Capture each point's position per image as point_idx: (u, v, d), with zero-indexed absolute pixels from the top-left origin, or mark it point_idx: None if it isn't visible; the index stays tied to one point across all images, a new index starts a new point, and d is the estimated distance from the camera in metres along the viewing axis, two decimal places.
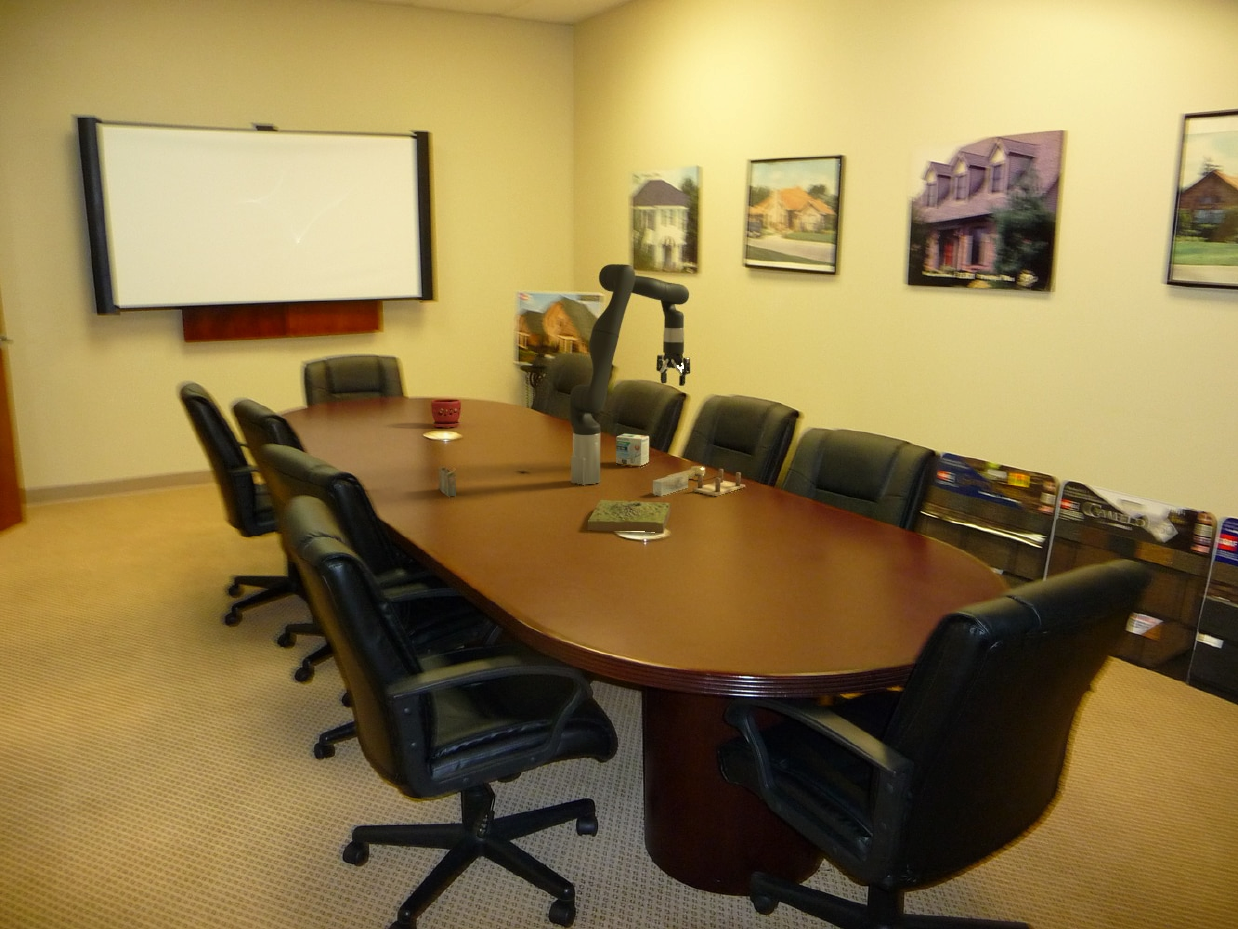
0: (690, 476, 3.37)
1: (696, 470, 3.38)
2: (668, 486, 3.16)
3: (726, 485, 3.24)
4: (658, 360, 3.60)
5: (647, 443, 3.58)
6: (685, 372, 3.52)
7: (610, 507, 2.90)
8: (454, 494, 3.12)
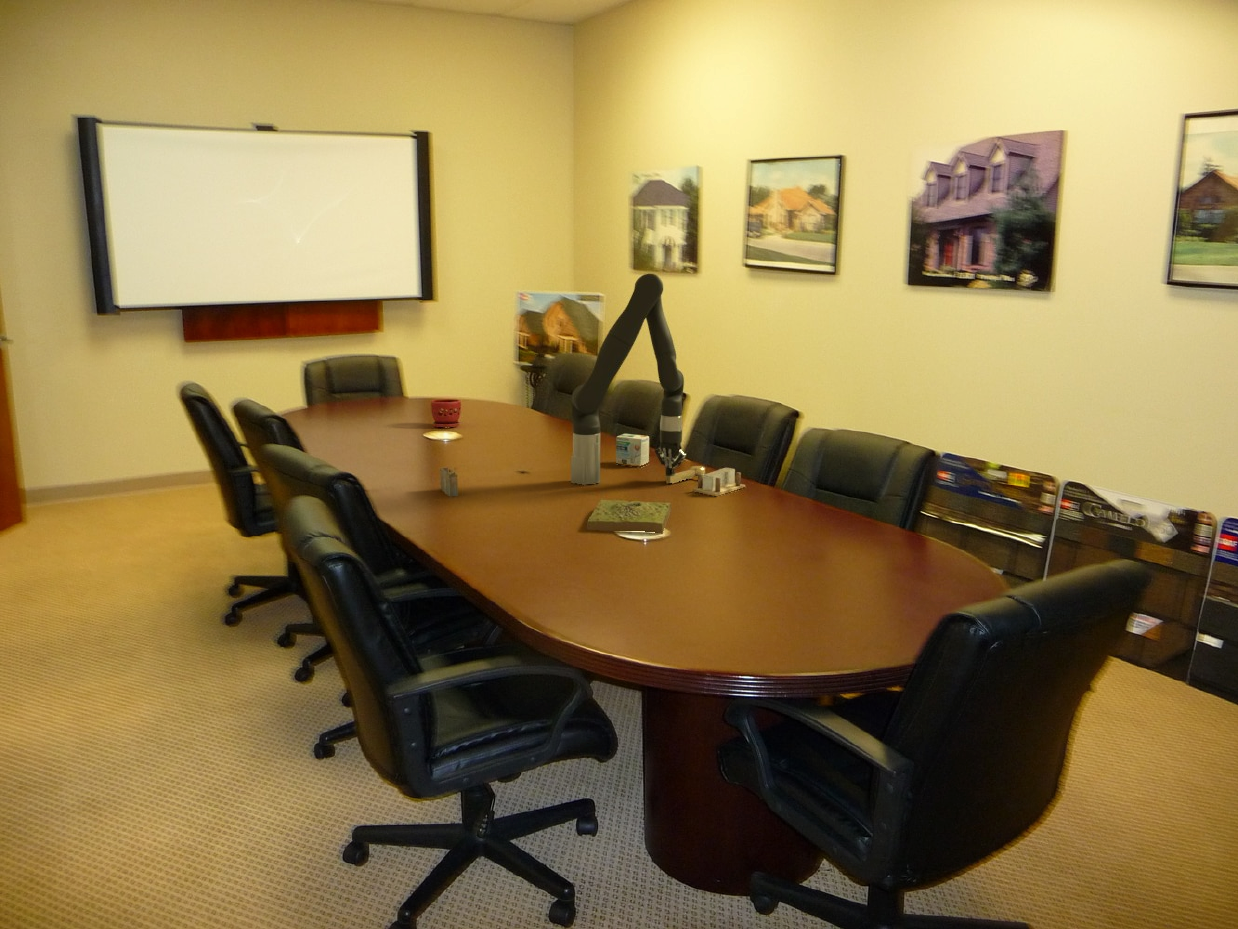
0: (690, 476, 3.37)
1: (696, 470, 3.38)
2: None
3: None
4: (658, 454, 3.35)
5: (647, 443, 3.58)
6: (674, 465, 3.30)
7: (610, 507, 2.90)
8: (456, 494, 3.12)
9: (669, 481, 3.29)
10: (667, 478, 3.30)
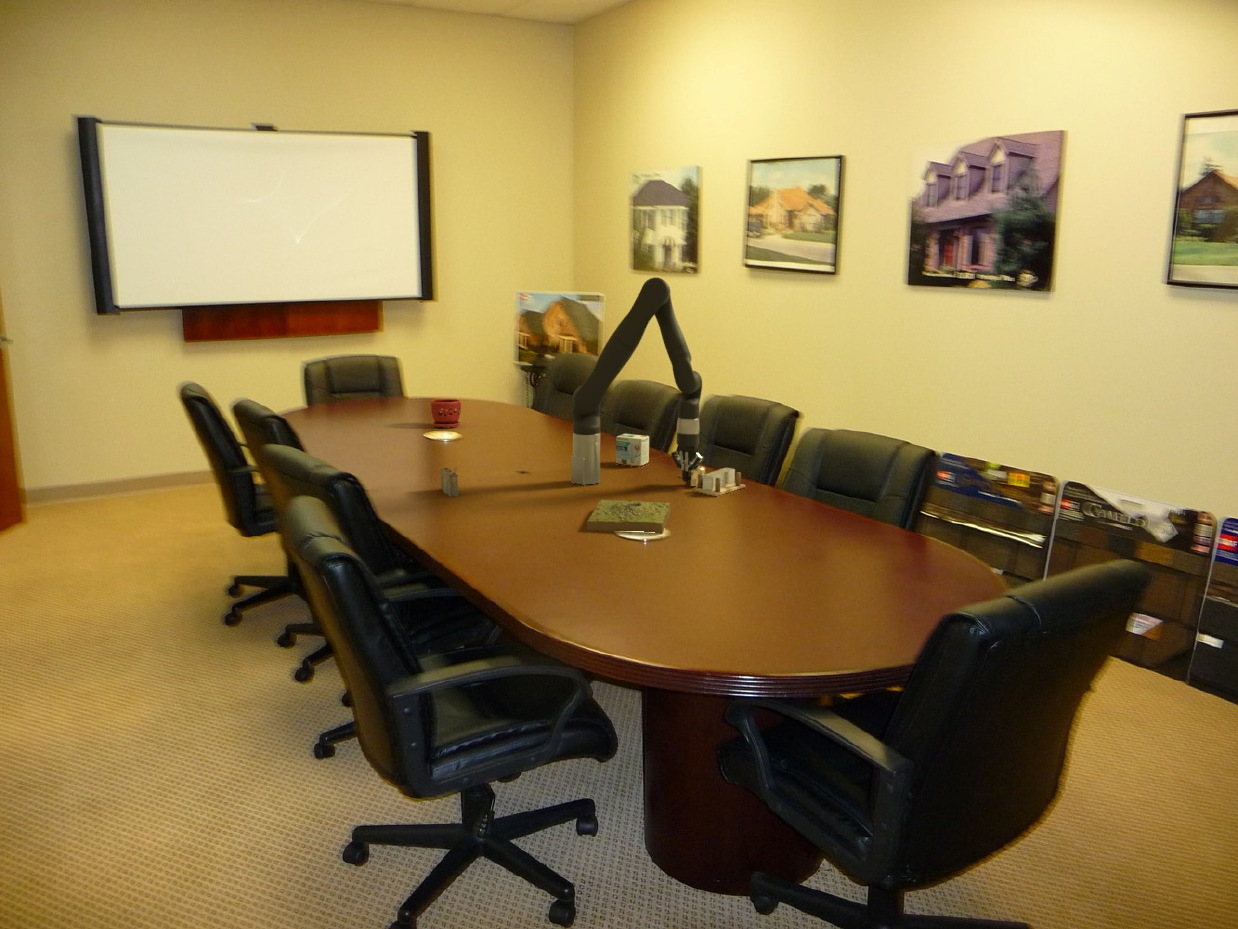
0: None
1: (700, 470, 3.38)
2: None
3: None
4: (674, 457, 3.30)
5: (647, 443, 3.58)
6: (691, 469, 3.26)
7: (610, 507, 2.90)
8: (456, 494, 3.12)
9: (695, 484, 3.25)
10: (692, 481, 3.25)
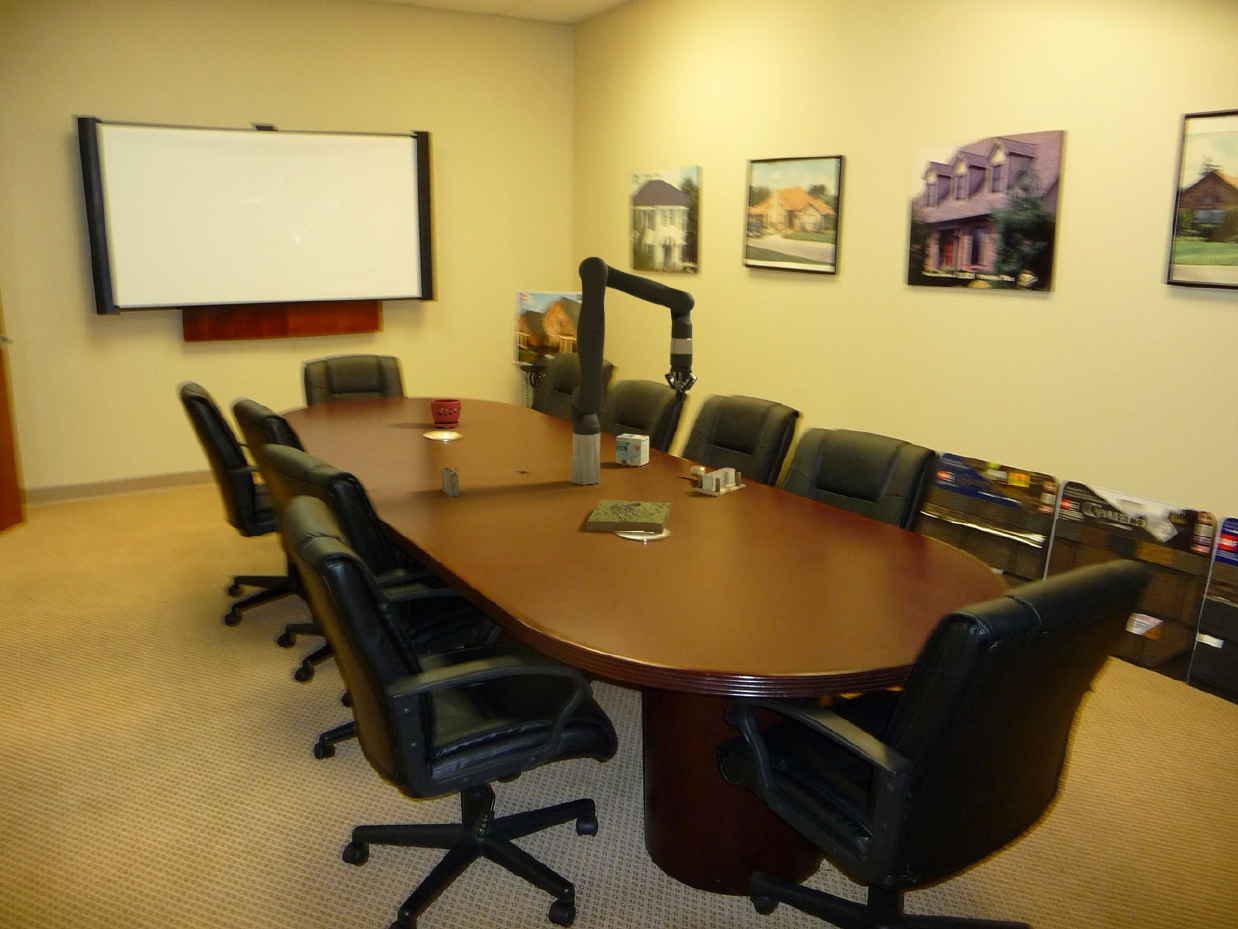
0: None
1: (701, 470, 3.38)
2: None
3: None
4: (668, 378, 3.32)
5: (647, 443, 3.58)
6: (685, 389, 3.27)
7: (610, 507, 2.90)
8: (457, 494, 3.12)
9: None
10: None
